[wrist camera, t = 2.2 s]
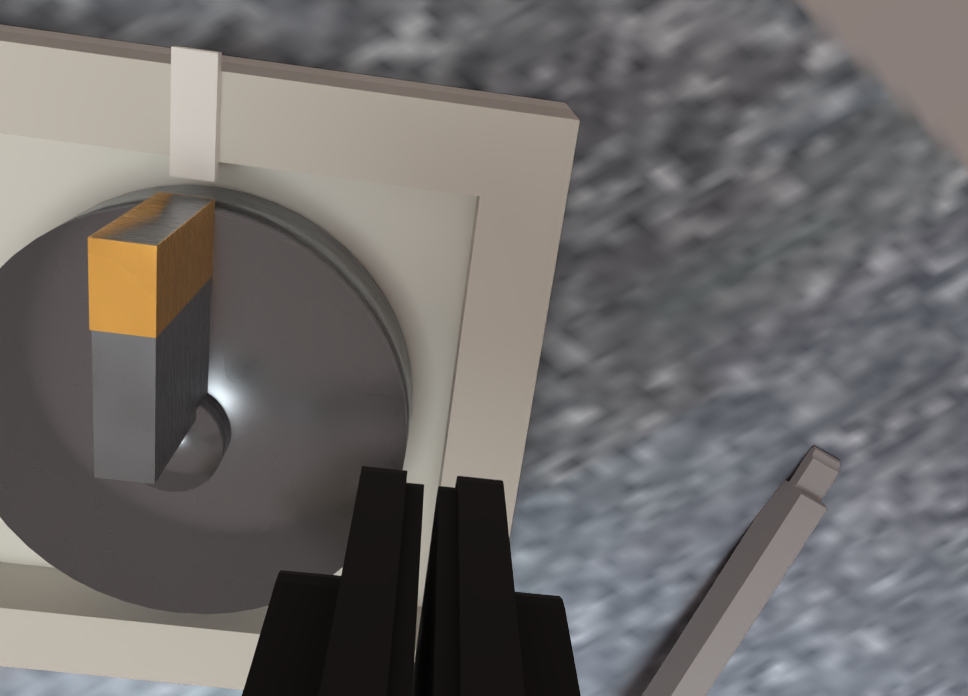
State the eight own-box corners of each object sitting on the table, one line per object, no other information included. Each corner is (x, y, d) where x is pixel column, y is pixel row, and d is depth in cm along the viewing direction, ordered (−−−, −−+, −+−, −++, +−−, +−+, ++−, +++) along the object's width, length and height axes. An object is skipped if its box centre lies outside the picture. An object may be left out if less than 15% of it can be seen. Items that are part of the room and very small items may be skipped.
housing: (567, 87, 24) (584, 104, 20) (479, 634, 30) (479, 720, 27) (-126, -11, 23) (-235, -10, 19) (-70, 578, 29) (-145, 659, 26)
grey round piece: (392, 578, 27) (368, 749, 21) (11, 538, 27) (-126, 701, 21) (436, 203, 23) (423, 280, 17) (-11, 145, 23) (-191, 202, 16)
